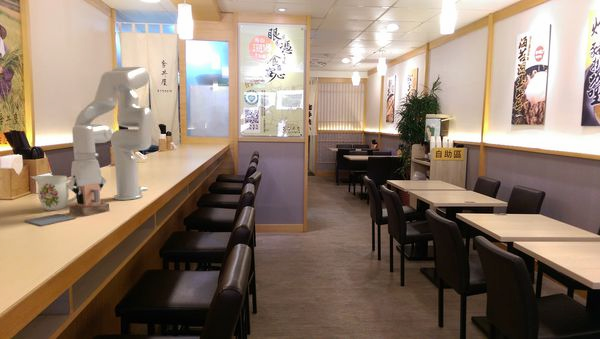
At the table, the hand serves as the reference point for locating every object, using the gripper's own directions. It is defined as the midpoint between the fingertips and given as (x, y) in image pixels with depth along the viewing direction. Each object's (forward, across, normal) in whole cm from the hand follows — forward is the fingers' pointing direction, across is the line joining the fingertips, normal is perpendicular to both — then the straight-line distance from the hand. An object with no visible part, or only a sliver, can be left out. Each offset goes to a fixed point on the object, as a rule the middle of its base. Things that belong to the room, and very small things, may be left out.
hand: (88, 201), depth 164 cm
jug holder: (+4, 0, 0) cm, 4 cm away
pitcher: (+4, +3, -18) cm, 19 cm away
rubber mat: (+4, +15, 0) cm, 16 cm away
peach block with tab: (+4, 0, +1) cm, 4 cm away
